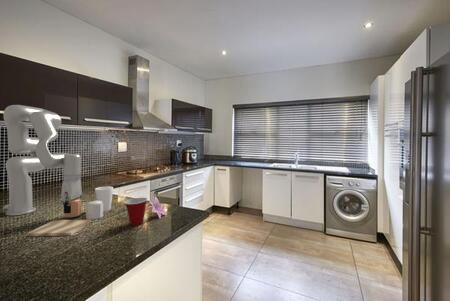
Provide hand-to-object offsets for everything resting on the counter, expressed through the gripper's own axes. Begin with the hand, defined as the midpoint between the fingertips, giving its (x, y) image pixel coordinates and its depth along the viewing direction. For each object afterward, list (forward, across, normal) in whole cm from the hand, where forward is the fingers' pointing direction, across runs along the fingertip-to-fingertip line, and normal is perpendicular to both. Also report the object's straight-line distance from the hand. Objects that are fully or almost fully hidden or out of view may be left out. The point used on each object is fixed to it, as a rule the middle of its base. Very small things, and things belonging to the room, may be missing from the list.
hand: (72, 210), depth 116 cm
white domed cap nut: (+4, 0, +12) cm, 12 cm away
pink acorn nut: (+2, 0, 0) cm, 2 cm away
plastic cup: (+3, +10, +36) cm, 38 cm away
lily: (+3, 0, +44) cm, 44 cm away
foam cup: (+4, -13, +10) cm, 17 cm away
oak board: (+4, +15, +4) cm, 16 cm away
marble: (+2, 0, 0) cm, 2 cm away
